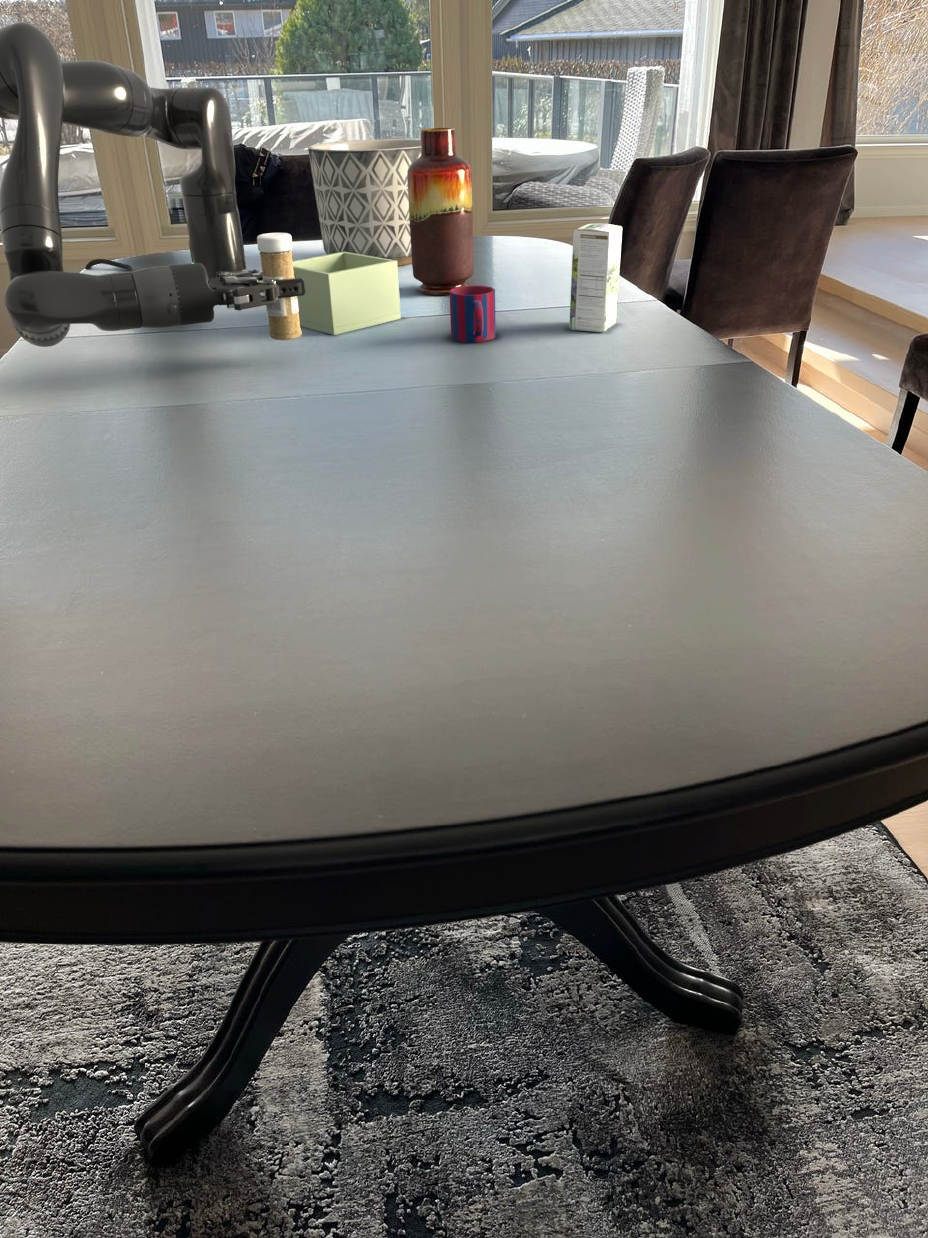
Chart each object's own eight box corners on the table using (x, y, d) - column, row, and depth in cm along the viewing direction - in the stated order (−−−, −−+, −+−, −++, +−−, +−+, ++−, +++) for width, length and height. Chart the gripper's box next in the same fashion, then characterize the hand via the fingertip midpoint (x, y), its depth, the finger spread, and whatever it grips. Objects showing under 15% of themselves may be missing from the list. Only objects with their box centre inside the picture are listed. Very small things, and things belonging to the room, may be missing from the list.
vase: (403, 295, 168) (393, 131, 155) (428, 282, 177) (421, 126, 164) (460, 298, 165) (455, 130, 151) (483, 285, 174) (480, 125, 160)
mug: (494, 330, 145) (493, 284, 141) (498, 347, 136) (497, 299, 133) (450, 332, 145) (449, 286, 141) (451, 349, 136) (450, 300, 133)
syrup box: (581, 321, 148) (584, 222, 141) (617, 324, 146) (622, 223, 138) (568, 330, 144) (571, 228, 136) (605, 333, 141) (610, 229, 134)
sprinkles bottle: (308, 336, 132) (298, 233, 125) (281, 342, 129) (269, 238, 122) (289, 330, 135) (278, 230, 128) (262, 337, 132) (249, 234, 125)
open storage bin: (283, 321, 154) (276, 263, 149) (349, 306, 162) (344, 251, 157) (334, 335, 145) (328, 274, 141) (400, 318, 153) (397, 260, 149)
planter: (391, 245, 214) (384, 137, 203) (469, 258, 197) (466, 141, 186) (295, 262, 199) (282, 146, 188) (370, 278, 182) (361, 152, 171)
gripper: (174, 276, 116) (309, 262, 121) (160, 256, 127) (284, 245, 133) (185, 337, 120) (315, 322, 125) (170, 313, 131) (290, 300, 137)
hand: (299, 282), depth 129 cm, fingers closed on sprinkles bottle, 4 cm apart
